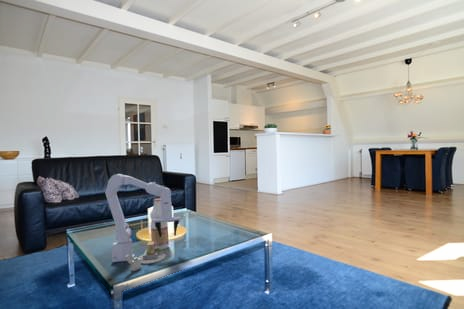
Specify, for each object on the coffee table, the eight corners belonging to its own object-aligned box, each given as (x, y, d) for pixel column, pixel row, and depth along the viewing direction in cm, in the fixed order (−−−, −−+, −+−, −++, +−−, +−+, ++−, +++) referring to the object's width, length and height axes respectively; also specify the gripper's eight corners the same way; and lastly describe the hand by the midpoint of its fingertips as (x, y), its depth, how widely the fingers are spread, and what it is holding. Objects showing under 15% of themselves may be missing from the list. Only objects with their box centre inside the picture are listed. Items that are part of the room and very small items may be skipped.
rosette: (134, 265, 135) (133, 258, 135) (140, 255, 149) (140, 248, 149) (163, 262, 136) (163, 255, 136) (167, 252, 150) (166, 246, 150)
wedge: (147, 258, 140) (146, 245, 140) (149, 255, 145) (148, 242, 145) (153, 258, 140) (152, 244, 140) (155, 254, 145) (154, 241, 145)
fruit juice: (148, 249, 158) (145, 200, 158) (161, 244, 166) (158, 197, 166) (159, 251, 153) (156, 200, 153) (172, 246, 161) (169, 198, 161)
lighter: (138, 267, 132) (138, 250, 132) (141, 267, 131) (140, 250, 131) (125, 272, 126) (124, 255, 126) (127, 273, 125) (126, 255, 125)
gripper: (151, 212, 145) (152, 239, 145) (179, 210, 146) (181, 236, 146) (153, 210, 152) (155, 235, 152) (180, 208, 153) (182, 232, 153)
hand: (167, 235), depth 149 cm, fingers open, 7 cm apart
